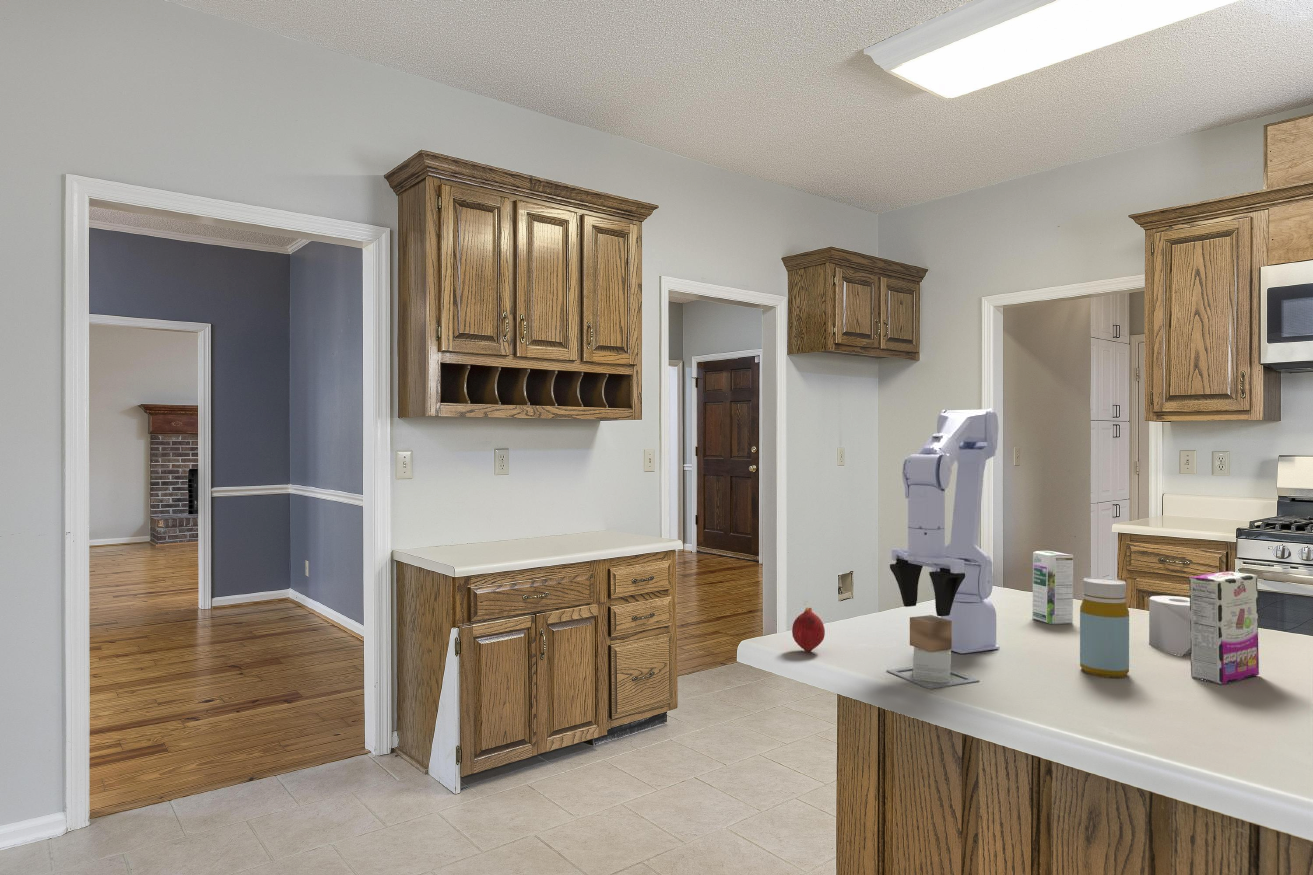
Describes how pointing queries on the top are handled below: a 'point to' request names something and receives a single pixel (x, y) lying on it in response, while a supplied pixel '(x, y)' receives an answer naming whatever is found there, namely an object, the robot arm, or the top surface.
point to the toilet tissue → (1170, 624)
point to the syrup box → (1052, 587)
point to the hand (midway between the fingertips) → (926, 610)
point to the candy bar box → (1224, 627)
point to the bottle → (1104, 628)
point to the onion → (808, 630)
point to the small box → (932, 665)
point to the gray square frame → (969, 680)
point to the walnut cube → (931, 633)
